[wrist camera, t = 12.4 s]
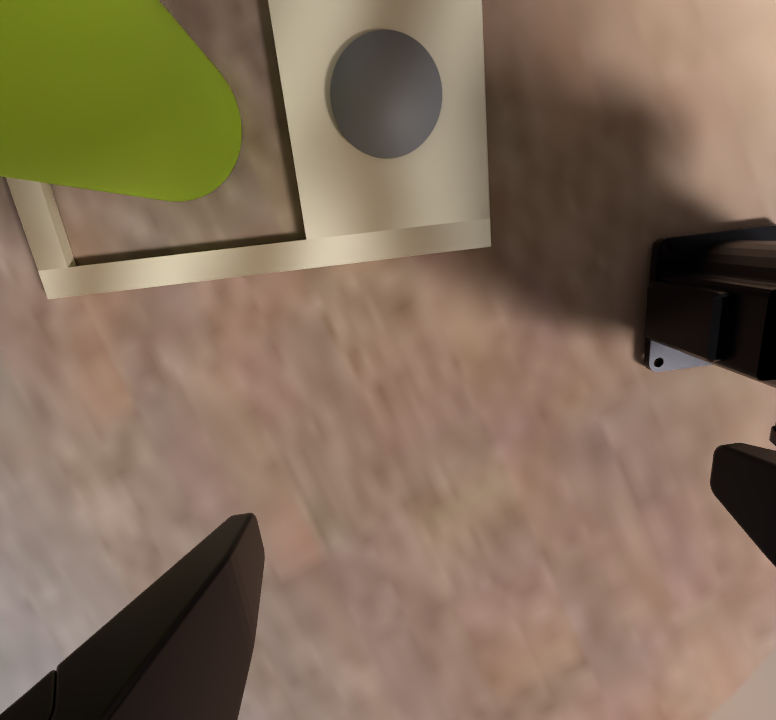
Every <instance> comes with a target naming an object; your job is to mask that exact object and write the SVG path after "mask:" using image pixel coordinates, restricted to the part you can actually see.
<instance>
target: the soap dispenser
mask: <svg viewBox="0 0 776 720" xmlns="http://www.w3.org/2000/svg"><path fill="white" fill-rule="evenodd" d="M241 139H242V126H241V118H240V113H239V109H238V105H237V102H236V100H235V97H234V95H233V93H232V90H231V89H230V87H229V85H228V83H227V82H226V80H225V79H224V77H223V76H222V74H221V73H220V72H219V70H218V69H217V68H216V67H215V66H214V65H213V63H212V62H211V61H210V60H209V59H208V58H207V56H206V55H205V54H204V53H203V52H202V51H201V49H200V48H199V47H198V46H197V45H196V43H195V42H194V41H193V40H192V39H191V38H190V36H189V35H188V34H187V33H186V32H185V31H184V29H183V28H182V27H181V26H180V25H179V24H178V22H177V21H176V20H175V19H174V18H173V17H172V15H171V14H170V13H169V12H168V11H167V9H166V8H165V7H164V6H163V5H162V4H161V2H160V1H159V0H0V176H1V177H8V178H15V179H22V180H29V181H36V182H42V183H49V184H56V185H63V186H70V187H76V188H83V189H90V190H97V191H104V192H110V193H117V194H124V195H131V196H138V197H144V198H151V199H158V200H165V201H189V200H193V199H197V198H200V197H202V196H205V195H207V194H209V193H210V192H212V191H213V190H215V189H216V188H217V187H219V186H220V185H221V184H222V183H223V182H224V181H225V180H226V178H227V177H228V176H229V174H230V173H231V171H232V169H233V168H234V166H235V163H236V161H237V158H238V155H239V151H240V147H241Z"/></svg>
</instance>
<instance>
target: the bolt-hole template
mask: <svg viewBox="0 0 776 720" xmlns="http://www.w3.org/2000/svg"><path fill="white" fill-rule="evenodd" d="M268 3H269V9H270V16H271V22H272V28H273V34H274V41H275V47H276V53H277V59H278V65H279V72H280V78H281V84H282V90H283V96H284V103H285V109H286V115H287V121H288V128H289V134H290V140H291V146H292V152H293V159H294V165H295V171H296V177H297V183H298V190H299V196H300V202H301V208H302V215H303V221H304V227H305V233H306V240H298V241H289V242H281V243H272V244H263V245H255V246H246V247H238V248H229V249H220V250H212V251H203V252H195V253H186V254H177V255H169V256H160V257H152V258H143V259H134V260H126V261H117V262H108V263H100V264H91V265H83V266H76V264H75V261H74V257H73V254H72V251H71V248H70V245H69V242H68V239H67V236H66V232H65V229H64V226H63V223H62V220H61V217H60V214H59V211H58V208H57V204H56V201H55V198H54V195H53V192H52V189H51V186H50V184H49V183H42V182H36V181H29V180H22V179H15V178H8V177H6V180H7V183H8V186H9V188H10V191H11V194H12V197H13V200H14V203H15V206H16V209H17V211H18V214H19V217H20V220H21V223H22V226H23V229H24V232H25V234H26V237H27V240H28V243H29V246H30V249H31V252H32V255H33V257H34V260H35V263H36V266H37V269H38V272H39V275H40V278H41V280H42V283H43V286H44V289H45V292H46V295H47V298H48V299H55V298H64V297H72V296H80V295H89V294H97V293H106V292H114V291H122V290H131V289H139V288H148V287H156V286H164V285H173V284H181V283H190V282H198V281H206V280H215V279H223V278H232V277H240V276H248V275H257V274H265V273H274V272H282V271H290V270H299V269H307V268H316V267H324V266H332V265H341V264H349V263H358V262H366V261H374V260H383V259H391V258H400V257H408V256H416V255H425V254H433V253H442V252H450V251H458V250H467V249H475V248H484V247H491V232H490V206H489V179H488V152H487V126H486V99H485V72H484V46H483V19H482V0H268Z"/></svg>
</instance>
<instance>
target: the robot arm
mask: <svg viewBox="0 0 776 720" xmlns="http://www.w3.org/2000/svg"><path fill="white" fill-rule="evenodd" d="M665 245H667V251H666V252H665V253H663V247H664V246H665ZM645 336H646V340H645V354H644V365H645V366H646V368H648V369H650V370H652V371H654V372H661V371H669V370H676V369H684V368H691V367H699V366H706V365H716V366H719V367H722V368H724V369H727V370H730V371H732V372H735V373H738V374H740V375H743V376H746V377H748V378H751V379H754V380H756V381H759V382H762V383H764V384H767V385H770V386H772V387H775V388H776V224H773V225H764V226H756V227H748V228H739V229H731V230H723V231H715V232H706V233H698V234H690V235H681V236H673V237H665V238H661V239H658V240H657V241H656V242H655V243H654V245H653V247H652V255H651V269H650V283H649V287H648V296H647V310H646V324H645ZM657 358H658V362H657V363H656V364H654V361H655V360H656V359H657ZM769 440H770V441H771V442H772V443H773V444H774V445H775V446H776V424H775V426H773V427H772V428H771V433H770V439H769ZM710 486H711V489H712V491H713V493H714V495H715V496H716V498H717V499H718V500H719V501H720V502H721V504H722V505H723V506H724V507H725V508H726V509H727V511H728V512H729V513H730V514H731V515H732V517H733V518H734V519H735V520H736V521H737V523H738V524H739V525H740V526H741V527H742V528H743V530H744V531H745V532H746V533H747V534H748V536H749V537H750V538H751V539H752V540H753V541H754V543H755V544H756V545H757V546H758V547H759V549H760V550H761V551H762V552H763V553H764V554H765V556H766V557H767V558H768V559H769V560H770V561H771V562H772V564H773V565H774V566H775V567H776V451H774V450H770V449H765V448H761V447H757V446H752V445H748V444H744V443H734V444H727V445H721V446H719V447H717V448H716V450H715V451H714V455H713V463H712V470H711V478H710ZM264 559H265V556H264V547H263V543H262V539H261V535H260V530H259V526H258V522H257V518H256V516H255V515H254V514H253V513H246V514H239V515H233V516H231V517H229V518H228V519H227V520H226V521H225V522H223V523H222V524H221V525H220V526H219V527H218V528H217V529H215V530H214V531H213V532H212V533H211V534H210V535H208V536H207V537H206V538H205V539H204V540H203V541H201V542H200V543H199V544H198V545H197V546H196V547H195V548H193V549H192V550H191V551H190V552H189V553H188V554H186V555H185V556H184V557H183V558H182V559H181V560H179V561H178V562H177V563H176V564H175V565H174V566H173V567H171V568H170V569H169V570H168V571H167V572H166V573H164V574H163V575H162V576H161V577H160V578H159V579H157V580H156V581H155V582H154V583H153V584H152V585H150V586H149V587H148V588H147V589H146V590H145V591H144V592H142V593H141V594H140V595H139V596H138V597H137V598H135V599H134V600H133V601H132V602H131V603H130V604H128V605H127V606H126V607H125V608H124V609H123V610H122V611H120V612H119V613H118V614H117V615H116V616H115V617H113V618H112V619H111V620H110V621H109V622H108V623H106V624H105V625H104V626H103V627H102V628H101V629H99V630H98V631H97V632H96V633H95V634H94V635H92V636H91V637H90V638H89V639H88V640H87V641H86V642H84V643H83V644H82V645H81V646H80V647H79V648H77V649H76V650H75V651H74V652H73V653H72V654H70V655H69V656H68V657H67V658H66V659H65V660H63V661H62V662H61V663H60V664H59V665H58V666H57V671H55V670H52V671H51V672H49V673H48V674H47V675H46V676H45V677H44V678H43V679H41V680H40V681H39V682H38V683H37V684H36V685H34V686H33V687H32V688H31V689H30V690H29V691H27V692H26V693H25V694H24V695H23V696H22V697H20V698H19V699H18V700H17V701H16V702H14V703H13V704H12V705H11V706H10V707H8V708H7V709H6V710H5V711H4V712H3V713H1V714H0V720H237V719H238V715H239V710H240V706H241V702H242V697H243V693H244V689H245V684H246V680H247V675H248V671H249V667H250V662H251V658H252V653H253V648H254V642H255V635H256V628H257V619H258V611H259V603H260V594H261V586H262V578H263V570H264Z"/></svg>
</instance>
